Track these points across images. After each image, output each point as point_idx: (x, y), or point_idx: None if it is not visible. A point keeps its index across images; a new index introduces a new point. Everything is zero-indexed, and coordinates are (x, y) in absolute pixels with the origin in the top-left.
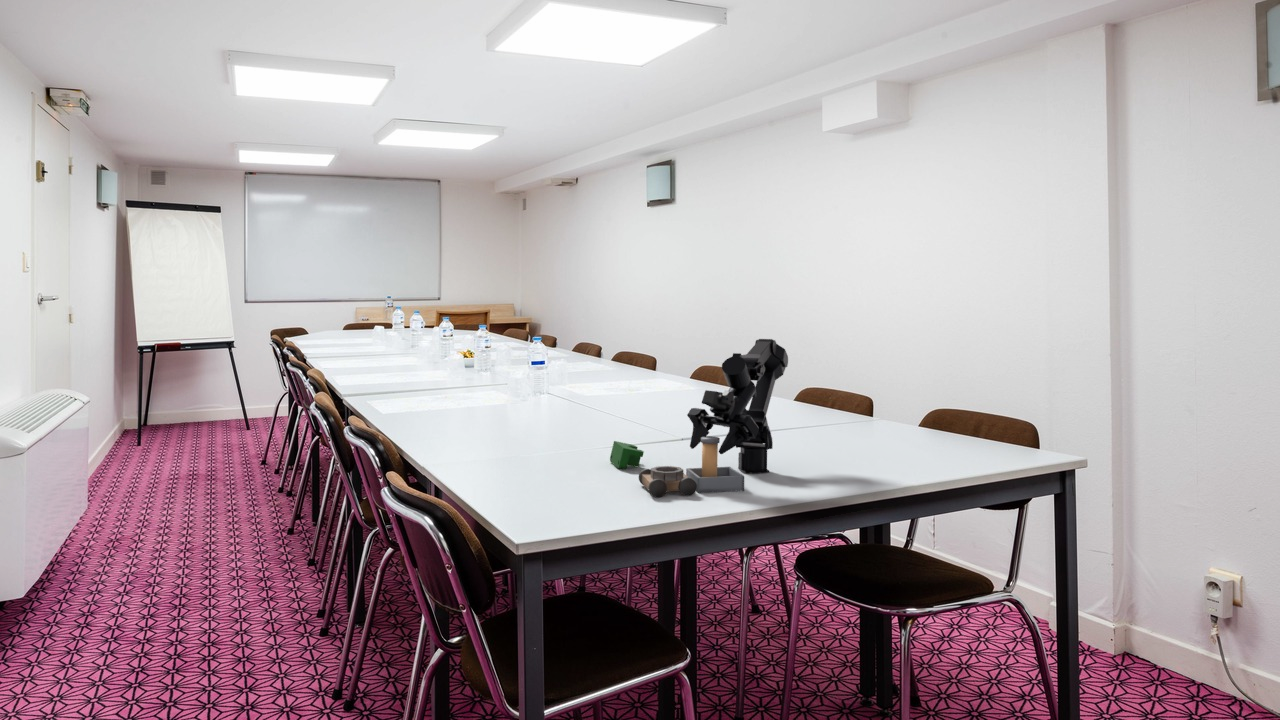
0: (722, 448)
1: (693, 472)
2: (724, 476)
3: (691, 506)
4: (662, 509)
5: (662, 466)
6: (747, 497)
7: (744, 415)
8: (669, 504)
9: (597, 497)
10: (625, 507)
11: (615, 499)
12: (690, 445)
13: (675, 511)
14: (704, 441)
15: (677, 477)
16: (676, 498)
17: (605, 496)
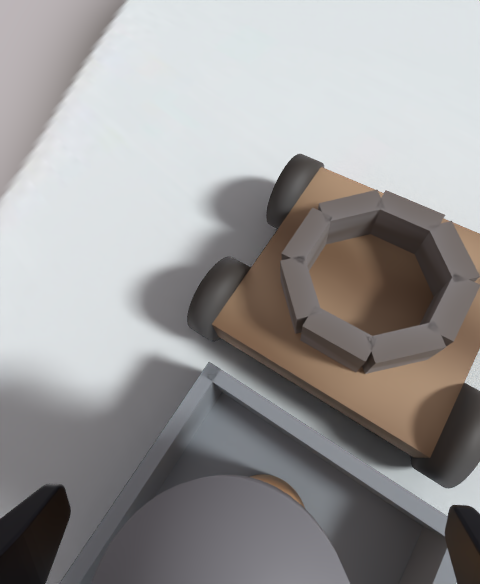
0: (9, 514)
1: (337, 459)
2: (121, 512)
3: (115, 215)
4: (164, 134)
5: (463, 302)
6: (4, 484)
7: None
8: (188, 182)
9: (427, 82)
10: (262, 79)
11: (365, 105)
12: (464, 508)
13: (119, 146)
14: (218, 476)
15: (281, 275)
16: (228, 251)
17: (423, 104)
